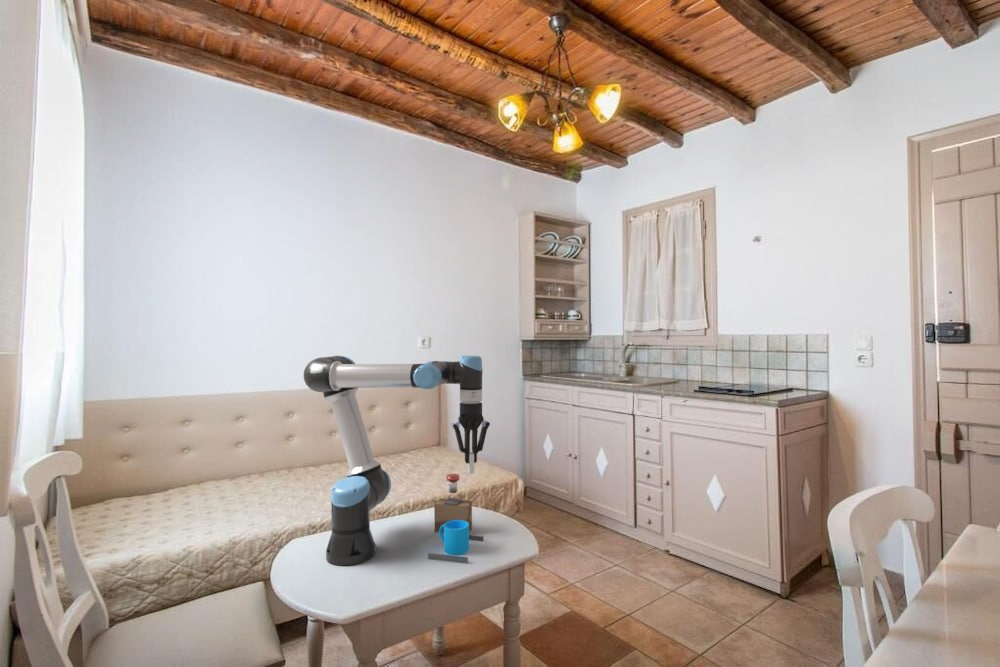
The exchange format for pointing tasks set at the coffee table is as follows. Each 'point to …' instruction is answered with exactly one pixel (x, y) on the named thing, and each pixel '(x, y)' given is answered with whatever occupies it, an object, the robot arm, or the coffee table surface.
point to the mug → (455, 537)
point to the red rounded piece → (452, 482)
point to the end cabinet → (452, 512)
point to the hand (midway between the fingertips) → (470, 472)
